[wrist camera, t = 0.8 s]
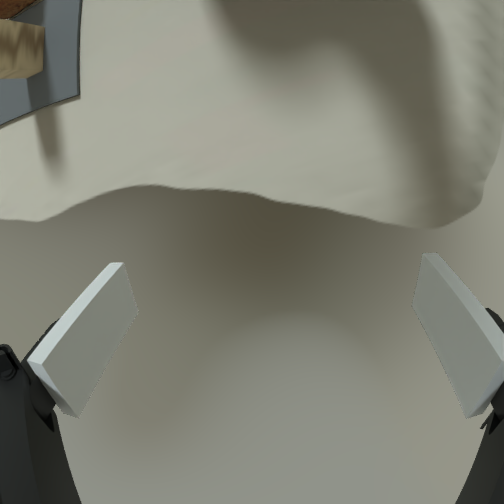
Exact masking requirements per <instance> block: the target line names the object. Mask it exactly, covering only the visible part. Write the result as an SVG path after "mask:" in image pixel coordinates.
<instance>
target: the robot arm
mask: <svg viewBox="0 0 504 504" xmlns="http://www.w3.org/2000/svg"><path fill="white" fill-rule="evenodd" d="M412 307H413V309H414V311H415V313H416V315H417V317H418V319H419V320H420V322H421V324H422V326H423V328H424V330H425V332H426V333H427V335H428V337H429V339H430V341H431V343H432V345H433V347H434V349H435V351H436V353H437V355H438V357H439V359H440V361H441V363H442V366H443V368H444V370H445V372H446V374H447V376H448V378H449V380H450V383H451V385H452V387H453V389H454V392H455V394H456V396H457V398H458V401H459V403H460V406H461V408H462V410H463V413H464V415H465V418H466V419H467V418H470V417H473V416H476V415H479V414H482V413H483V412H484V411H485V409H486V408H487V407H488V405H489V404H490V402H491V404H492V406H493V408H494V409H493V411H492V413H491V414H490V415H489V416H488V418H487V419H486V420H485V422H484V423H483V424H482V426H481V428H480V429H483V428H484V427H485V425H486V424H487V426H486V430H485V433H484V436H483V439H482V442H481V444H480V447H479V450H478V453H477V455H476V458H475V461H474V463H473V466H472V468H471V471H470V473H469V475H468V478H467V480H466V482H465V485H464V487H463V489H462V491H461V493H460V495H459V497H458V499H457V501H456V503H455V504H504V322H503V321H502V319H501V318H500V317H499V316H498V315H497V314H496V313H495V312H493V311H492V310H490V309H489V308H484V307H483V306H482V304H481V303H480V302H479V301H478V300H477V298H476V297H475V296H474V294H473V293H472V292H471V291H470V290H469V288H468V287H467V286H466V285H465V284H464V282H463V281H462V280H461V279H460V278H459V277H458V275H457V274H456V273H455V272H454V271H453V270H452V269H451V267H450V266H449V265H448V264H447V263H446V262H445V261H444V260H443V259H442V257H441V256H440V255H439V254H438V253H423V254H422V259H421V264H420V270H419V275H418V279H417V284H416V290H415V293H414V298H413V302H412ZM138 313H139V311H138V308H137V305H136V302H135V299H134V296H133V292H132V289H131V286H130V282H129V279H128V275H127V272H126V268H125V265H124V263H110V264H109V265H108V266H107V267H106V268H105V269H104V270H103V271H102V272H101V273H100V274H99V275H98V277H97V278H96V279H95V280H94V281H93V282H92V283H91V284H90V285H89V286H88V287H87V288H86V289H85V291H84V292H83V293H82V294H81V295H80V296H79V297H78V298H77V300H76V301H75V302H74V303H73V304H72V305H71V306H70V308H69V309H68V310H67V311H66V312H65V314H64V315H63V316H62V317H61V318H60V319H58V320H57V321H55V322H54V323H52V324H51V325H50V327H49V328H48V329H47V330H46V331H45V334H43V335H42V336H41V338H40V339H39V341H37V342H36V344H35V345H34V346H33V348H32V349H31V350H30V351H29V352H28V354H27V355H26V356H25V357H24V359H23V360H22V362H21V363H20V362H19V360H18V359H17V357H16V355H15V354H14V352H13V350H12V349H11V347H10V346H9V345H7V344H2V345H0V504H81V501H80V498H79V495H78V492H77V490H76V487H75V484H74V481H73V478H72V474H71V471H70V468H69V464H68V461H67V458H66V454H65V450H64V446H63V442H62V438H61V434H60V430H59V425H58V420H57V416H56V414H55V412H54V410H53V408H54V406H55V404H57V406H58V407H59V408H60V409H61V411H62V412H63V413H64V414H67V415H70V416H73V417H77V418H79V416H80V415H81V413H82V411H83V409H84V407H85V405H86V403H87V401H88V400H89V398H90V396H91V394H92V392H93V390H94V388H95V387H96V385H97V383H98V381H99V379H100V378H101V376H102V374H103V372H104V370H105V369H106V367H107V365H108V363H109V361H110V360H111V358H112V356H113V355H114V353H115V351H116V349H117V348H118V346H119V344H120V343H121V341H122V339H123V337H124V336H125V334H126V332H127V330H128V329H129V327H130V325H131V324H132V322H133V321H134V319H135V317H136V316H137V314H138Z"/></svg>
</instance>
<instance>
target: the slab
mask: <svg viewBox="0 0 504 504" xmlns="http://www.w3.org/2000/svg"><path fill="white" fill-rule="evenodd" d="M44 32H45V27H42V26H38V25H33V24H28V23H22V22H17V21H11V20H4V19H0V79H15V78H28V77H30V76H33V75H35V74H37V73H39V72H41V71H43V48H44Z"/></svg>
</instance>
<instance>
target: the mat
mask: <svg viewBox="0 0 504 504" xmlns="http://www.w3.org/2000/svg"><path fill="white" fill-rule="evenodd" d="M81 5H82V0H43V1H42V2H40V3H38V4H36V5H35V6H33V7H31V8H30V9H28V10H26V11H25V12H23V13H21V14H20V15H18V16H17V17H15V18H14V19H12V20H11V21H17V22H22V23H28V24H33V25H38V26H42V27H45V32H44V48H43V71H41V72H39V73H37V74H35V75H33V76H30V77H28V78H15V79H0V125H2V124H4V123H6V122H8V121H11V120H13V119H15V118H17V117H20V116H22V115H24V114H27V113H29V112H32V111H34V110H37V109H39V108H42V107H45V106H47V105H50V104H53V103H56V102H59V101H62V100H65V99H68V98H71V97H74V96H77V95H80V92H79V35H80V17H81Z"/></svg>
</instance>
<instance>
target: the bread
mask: <svg viewBox="0 0 504 504" xmlns="http://www.w3.org/2000/svg"><path fill="white" fill-rule="evenodd" d="M34 1H36V0H0V19H4V20H5V19H8V18H10V17H12V16H14V15H16V14H17V13H18V12H20V11H22V10H23V9H24V8H25V7H27V6H29V5H30V4H31V3H33V2H34Z"/></svg>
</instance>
